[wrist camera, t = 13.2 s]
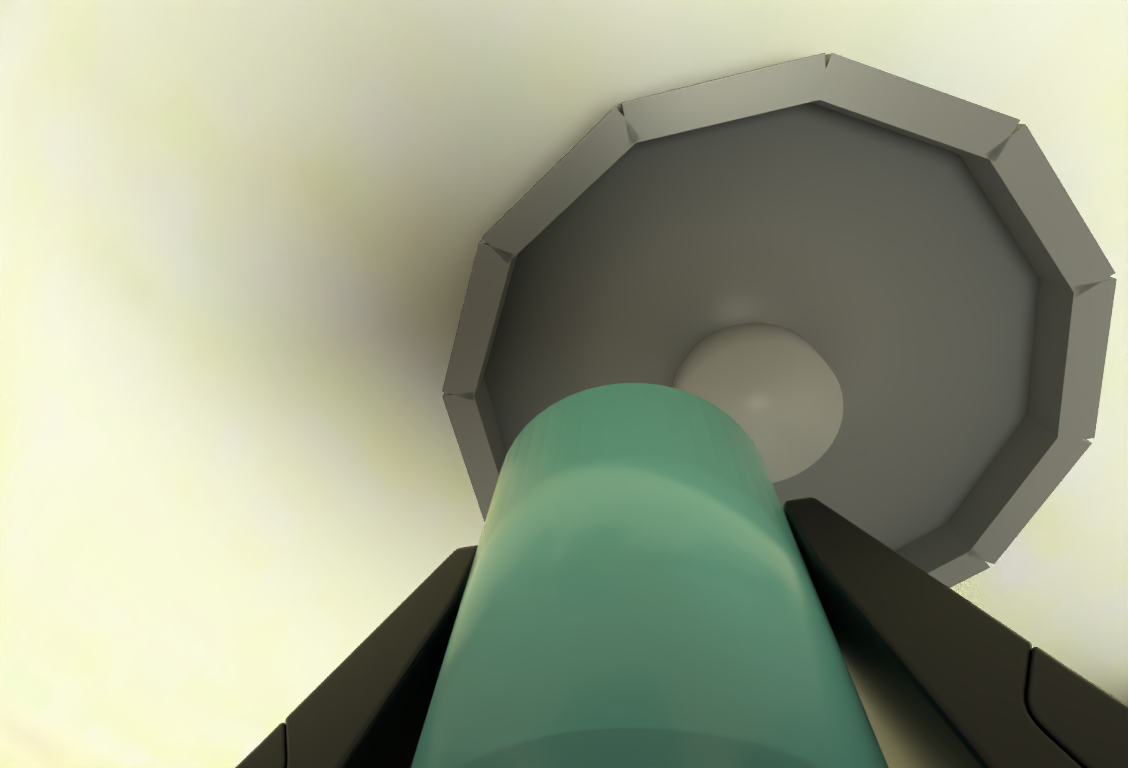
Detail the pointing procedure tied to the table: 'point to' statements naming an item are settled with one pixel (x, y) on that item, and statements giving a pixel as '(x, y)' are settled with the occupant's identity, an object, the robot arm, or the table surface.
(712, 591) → the bead
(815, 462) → the tray
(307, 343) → the table surface
